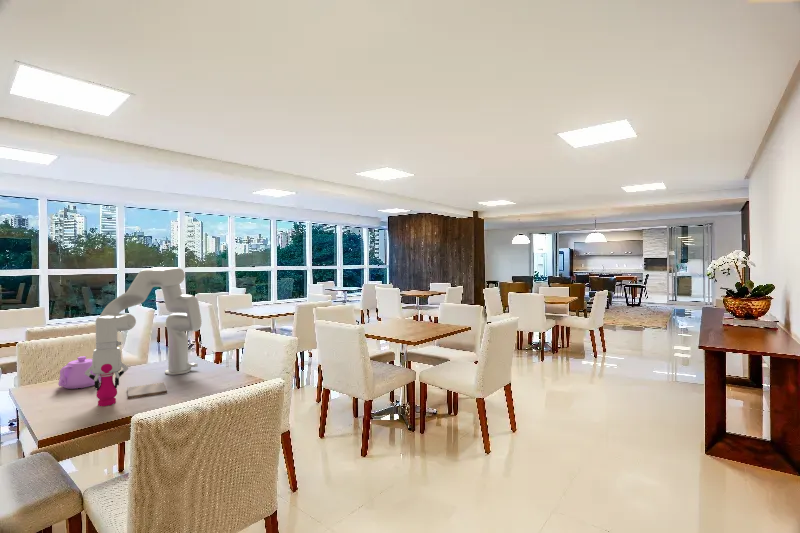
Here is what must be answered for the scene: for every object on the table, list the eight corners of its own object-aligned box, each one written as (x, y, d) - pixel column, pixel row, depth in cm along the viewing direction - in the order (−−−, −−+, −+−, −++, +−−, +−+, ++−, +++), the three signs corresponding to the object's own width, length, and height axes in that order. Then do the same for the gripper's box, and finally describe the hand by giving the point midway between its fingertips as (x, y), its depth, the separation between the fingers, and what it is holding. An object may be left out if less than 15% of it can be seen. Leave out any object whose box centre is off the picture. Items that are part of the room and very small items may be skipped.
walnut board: (164, 384, 207) (164, 382, 207) (167, 393, 194) (167, 390, 194) (127, 390, 198) (127, 387, 198) (128, 399, 186) (128, 396, 186)
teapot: (83, 394, 192) (83, 363, 192) (44, 391, 196) (43, 361, 196) (124, 380, 213) (124, 353, 213) (88, 378, 218) (87, 351, 217)
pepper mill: (100, 408, 175) (99, 359, 174) (93, 404, 179) (93, 356, 179) (120, 403, 180) (119, 356, 180) (113, 399, 185) (113, 353, 184)
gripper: (130, 342, 187) (130, 383, 188) (81, 346, 178) (82, 389, 178) (131, 345, 181) (131, 387, 181) (80, 349, 171) (80, 394, 172)
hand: (107, 388), depth 180 cm, fingers open, 5 cm apart
